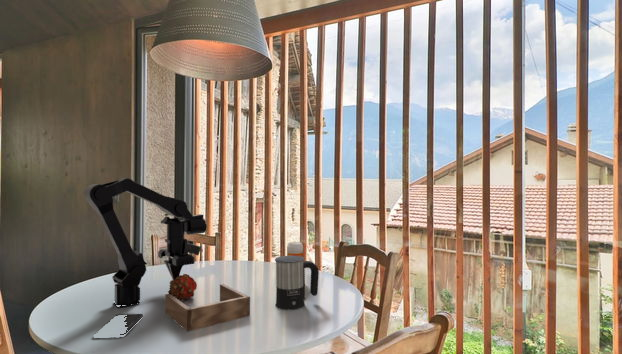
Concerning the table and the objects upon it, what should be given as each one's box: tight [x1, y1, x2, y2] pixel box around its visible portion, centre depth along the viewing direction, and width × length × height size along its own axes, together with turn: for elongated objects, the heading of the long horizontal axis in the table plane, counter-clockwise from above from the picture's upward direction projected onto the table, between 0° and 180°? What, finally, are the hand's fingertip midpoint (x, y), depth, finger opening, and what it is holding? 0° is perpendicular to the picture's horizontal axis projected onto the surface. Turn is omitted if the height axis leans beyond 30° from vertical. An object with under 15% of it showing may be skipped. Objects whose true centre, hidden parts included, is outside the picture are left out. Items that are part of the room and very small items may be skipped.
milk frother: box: [274, 255, 319, 311], centre depth 125 cm, size 14×16×15 cm
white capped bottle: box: [286, 241, 304, 257], centre depth 147 cm, size 6×6×15 cm
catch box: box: [164, 283, 251, 332], centre depth 113 cm, size 18×17×6 cm
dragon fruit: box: [167, 273, 198, 301], centre depth 128 cm, size 8×8×12 cm
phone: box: [115, 313, 144, 335], centre depth 103 cm, size 8×1×15 cm
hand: (175, 281), depth 133 cm, fingers closed
